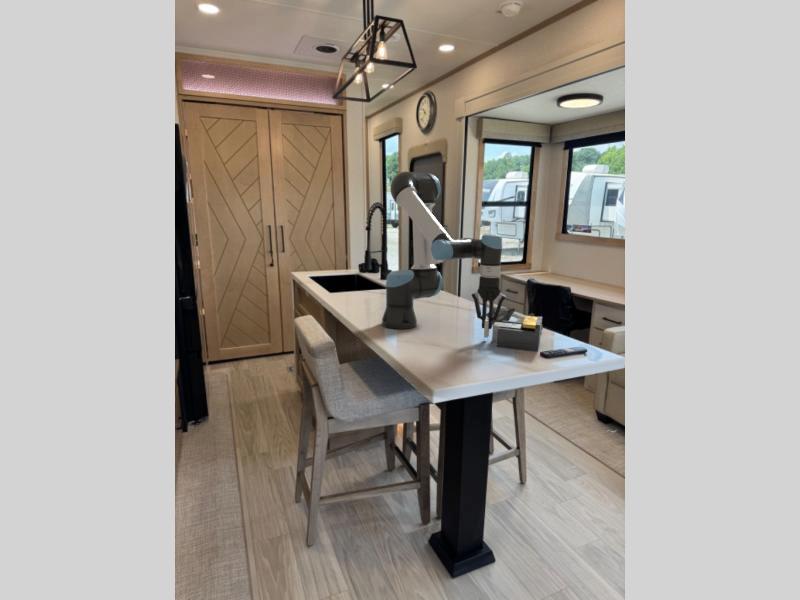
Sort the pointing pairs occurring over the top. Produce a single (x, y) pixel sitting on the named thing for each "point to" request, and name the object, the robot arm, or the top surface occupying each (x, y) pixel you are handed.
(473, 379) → the top surface
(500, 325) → the block
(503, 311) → the rock
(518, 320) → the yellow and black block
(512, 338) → the dark grey open box
